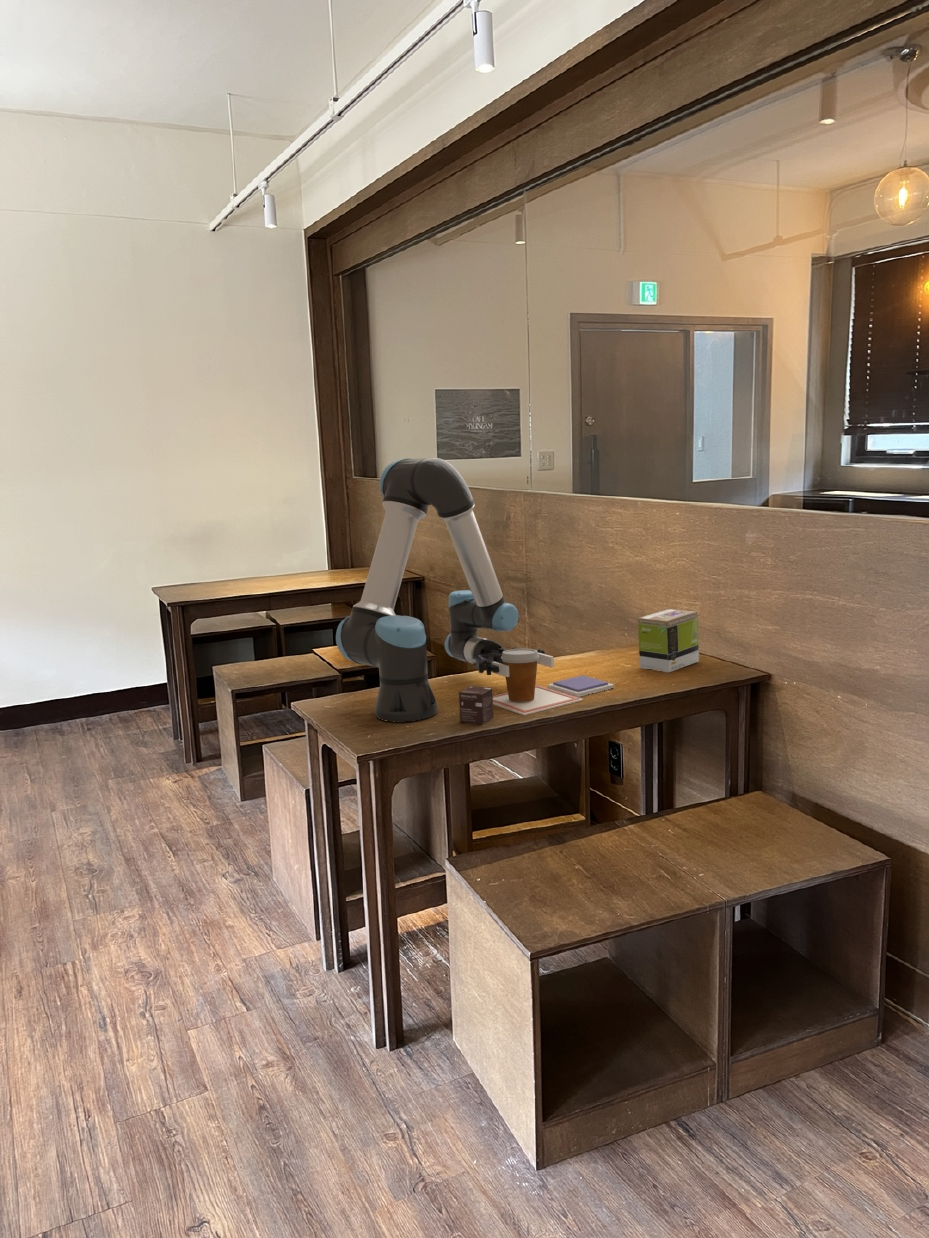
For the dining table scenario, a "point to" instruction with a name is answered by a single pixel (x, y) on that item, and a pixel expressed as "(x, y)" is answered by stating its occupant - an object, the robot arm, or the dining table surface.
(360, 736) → the dining table surface
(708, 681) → the dining table surface
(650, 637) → the tea box
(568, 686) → the ink pad
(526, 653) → the disposable coffee cup
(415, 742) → the dining table surface
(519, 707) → the marked board
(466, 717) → the box
